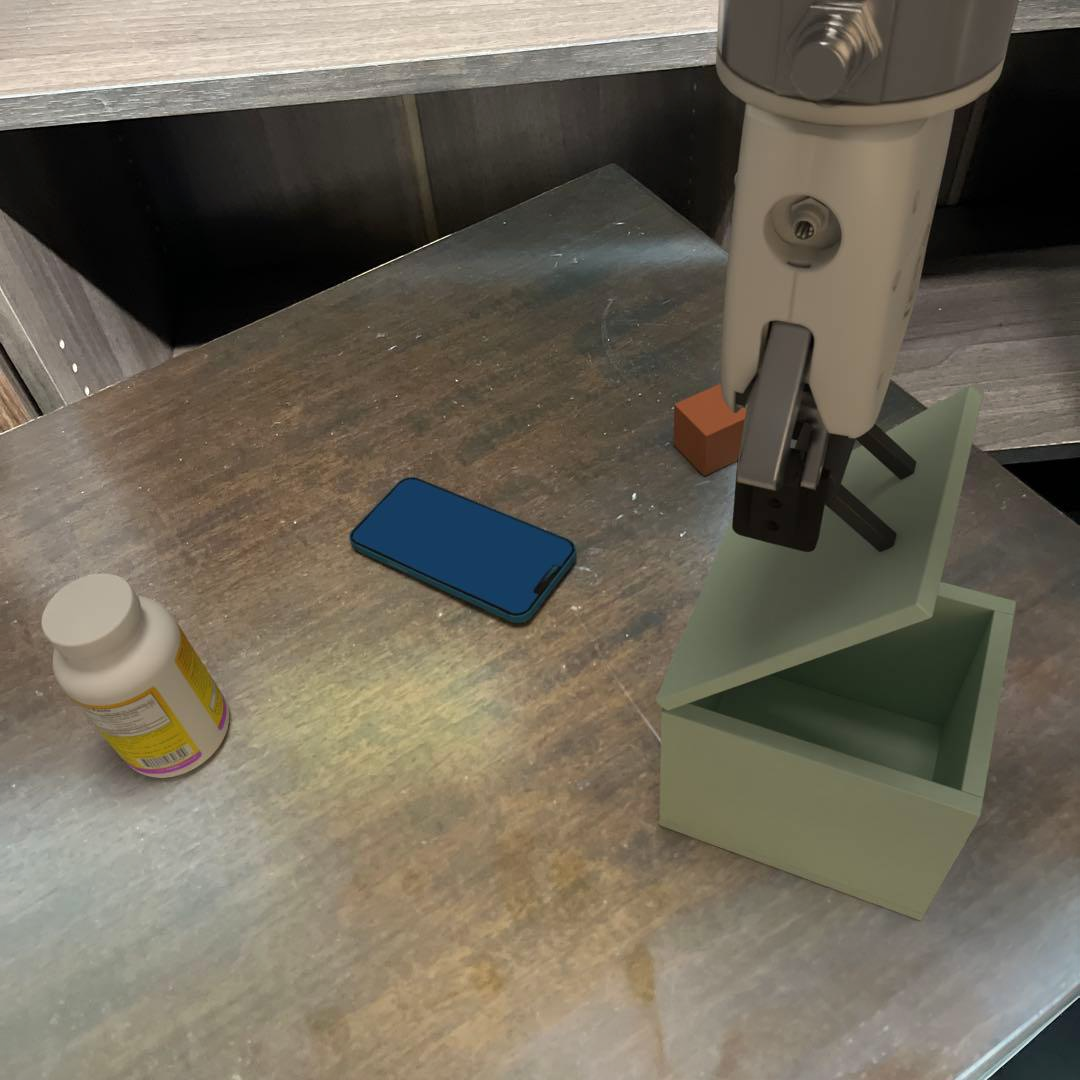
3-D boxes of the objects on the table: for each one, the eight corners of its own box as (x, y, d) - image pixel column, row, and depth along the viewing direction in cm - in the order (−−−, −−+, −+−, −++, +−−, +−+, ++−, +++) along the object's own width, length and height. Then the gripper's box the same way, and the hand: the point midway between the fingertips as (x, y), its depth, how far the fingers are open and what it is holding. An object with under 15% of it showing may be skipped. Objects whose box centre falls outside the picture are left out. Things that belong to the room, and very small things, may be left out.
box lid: (984, 396, 40) (885, 301, 39) (933, 618, 33) (811, 512, 32) (741, 527, 51) (659, 457, 50) (667, 711, 45) (570, 636, 43)
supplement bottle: (179, 670, 63) (94, 540, 54) (254, 714, 61) (179, 585, 51) (100, 752, 60) (-6, 628, 50) (176, 802, 57) (80, 681, 48)
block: (749, 455, 72) (754, 414, 69) (703, 476, 71) (706, 436, 68) (717, 424, 74) (720, 383, 71) (672, 444, 73) (673, 403, 70)
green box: (958, 727, 56) (1016, 600, 47) (920, 921, 49) (980, 816, 41) (722, 656, 61) (735, 528, 52) (658, 825, 54) (660, 711, 45)
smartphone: (406, 472, 72) (582, 543, 66) (409, 481, 73) (583, 553, 67) (342, 539, 69) (522, 622, 62) (345, 548, 69) (523, 631, 63)
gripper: (962, 189, 20) (839, 684, 33) (1051, -102, 30) (928, 373, 43) (612, 145, 22) (631, 622, 36) (801, -110, 32) (759, 341, 46)
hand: (794, 482), depth 39 cm, fingers closed on box lid, 5 cm apart
